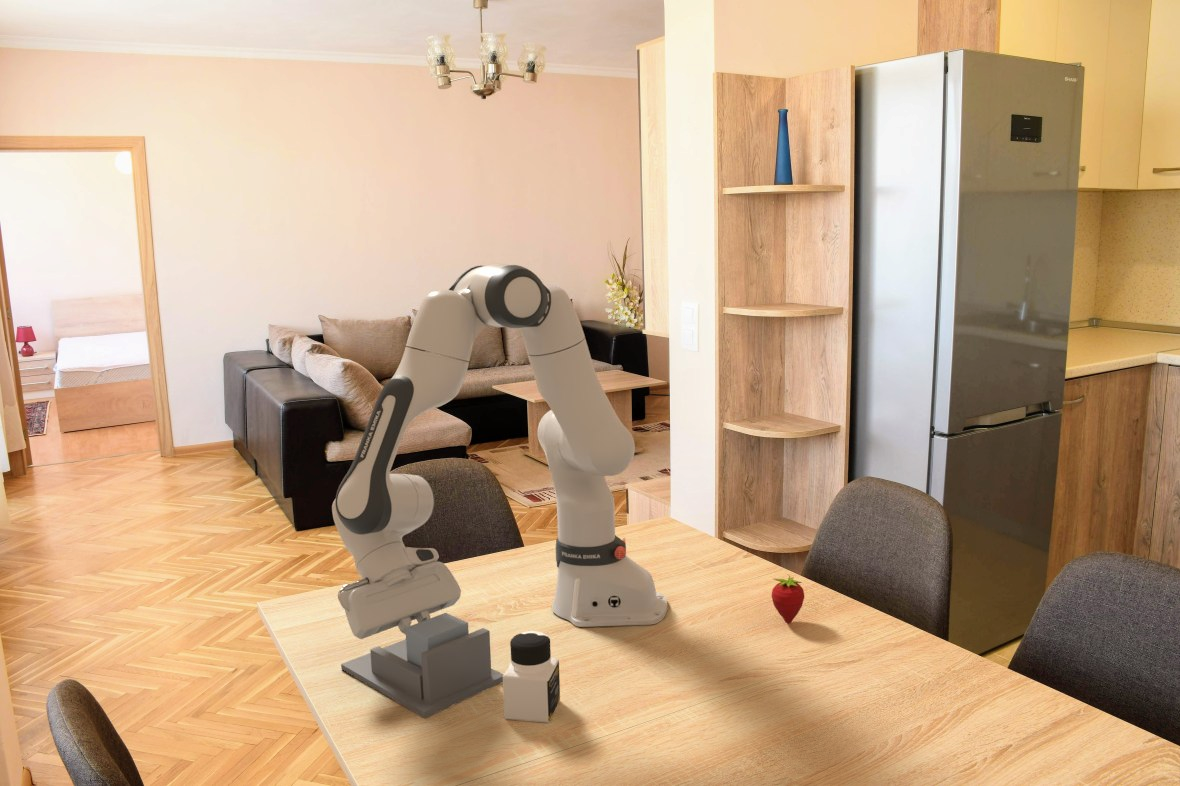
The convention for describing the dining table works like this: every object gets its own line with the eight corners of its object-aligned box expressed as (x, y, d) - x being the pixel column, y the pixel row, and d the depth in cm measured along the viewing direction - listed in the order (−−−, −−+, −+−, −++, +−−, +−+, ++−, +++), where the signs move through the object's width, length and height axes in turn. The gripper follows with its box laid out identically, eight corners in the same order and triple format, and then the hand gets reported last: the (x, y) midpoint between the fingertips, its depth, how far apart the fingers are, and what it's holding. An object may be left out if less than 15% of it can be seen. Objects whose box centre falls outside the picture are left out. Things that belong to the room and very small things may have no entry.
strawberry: (767, 628, 168) (768, 576, 166) (775, 613, 175) (776, 562, 173) (800, 633, 166) (801, 580, 164) (807, 617, 173) (807, 566, 171)
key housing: (341, 669, 156) (337, 619, 154) (419, 639, 167) (416, 592, 166) (424, 718, 139) (421, 662, 138) (505, 680, 151) (503, 629, 149)
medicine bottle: (549, 723, 137) (547, 648, 135) (503, 720, 138) (500, 645, 136) (560, 700, 144) (558, 628, 142) (516, 697, 145) (513, 625, 143)
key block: (408, 680, 149) (405, 627, 147) (448, 663, 154) (445, 612, 153) (430, 692, 145) (427, 638, 143) (470, 674, 150) (468, 622, 149)
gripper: (339, 578, 147) (377, 654, 142) (443, 546, 162) (480, 614, 156) (327, 598, 151) (363, 672, 146) (429, 565, 165) (465, 631, 160)
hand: (425, 641), depth 151 cm, fingers closed, pressing on key block
